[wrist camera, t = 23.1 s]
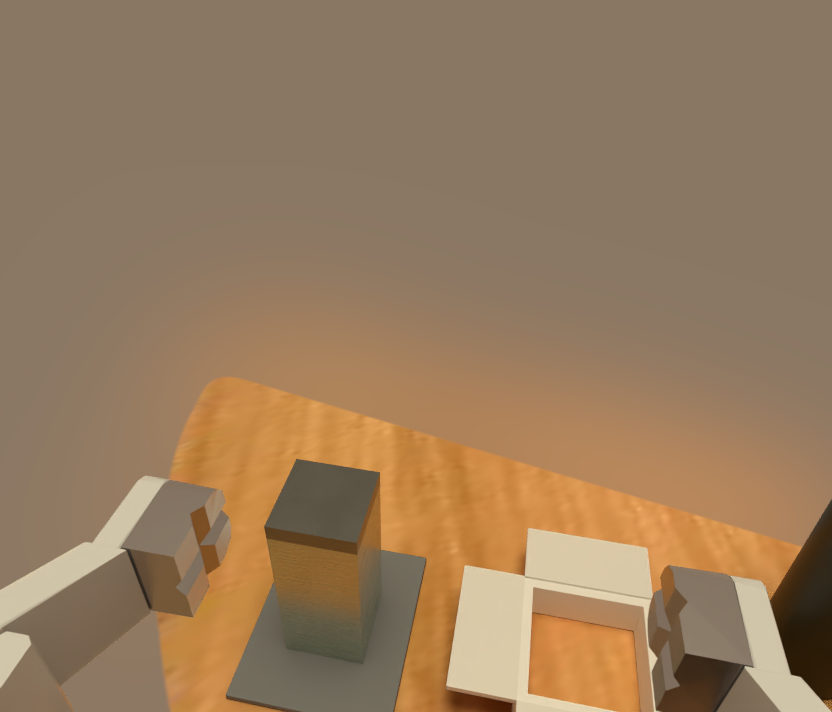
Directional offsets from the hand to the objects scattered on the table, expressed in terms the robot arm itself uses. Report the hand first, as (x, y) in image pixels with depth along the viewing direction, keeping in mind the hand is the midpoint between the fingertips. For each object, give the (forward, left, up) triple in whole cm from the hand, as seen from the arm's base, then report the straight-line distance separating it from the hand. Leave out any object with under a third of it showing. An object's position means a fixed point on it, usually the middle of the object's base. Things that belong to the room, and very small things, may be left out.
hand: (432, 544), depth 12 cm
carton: (-8, -15, -30) cm, 35 cm away
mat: (+8, -15, -30) cm, 35 cm away
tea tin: (+8, -15, -30) cm, 34 cm away
